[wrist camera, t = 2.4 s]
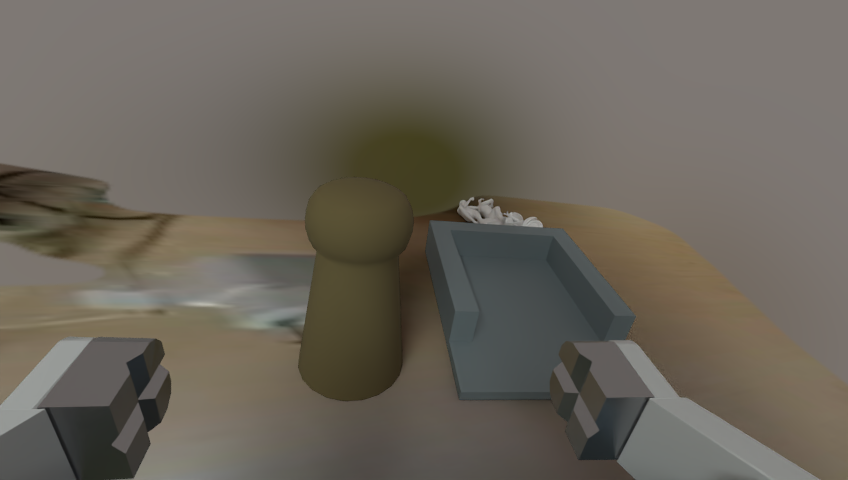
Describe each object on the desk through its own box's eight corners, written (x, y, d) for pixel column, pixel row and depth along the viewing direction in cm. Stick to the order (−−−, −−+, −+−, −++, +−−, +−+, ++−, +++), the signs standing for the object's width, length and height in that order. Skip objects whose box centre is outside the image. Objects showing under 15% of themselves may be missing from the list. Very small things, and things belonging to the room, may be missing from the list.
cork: (369, 314, 29) (382, 159, 24) (422, 373, 25) (452, 202, 20) (281, 345, 26) (274, 171, 20) (327, 419, 22) (332, 226, 16)
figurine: (444, 213, 46) (511, 210, 48) (468, 248, 40) (545, 243, 42) (447, 187, 45) (516, 185, 47) (472, 219, 38) (552, 214, 40)
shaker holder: (459, 399, 24) (468, 360, 22) (425, 250, 38) (429, 220, 36) (653, 398, 26) (674, 362, 24) (553, 257, 40) (562, 228, 38)
